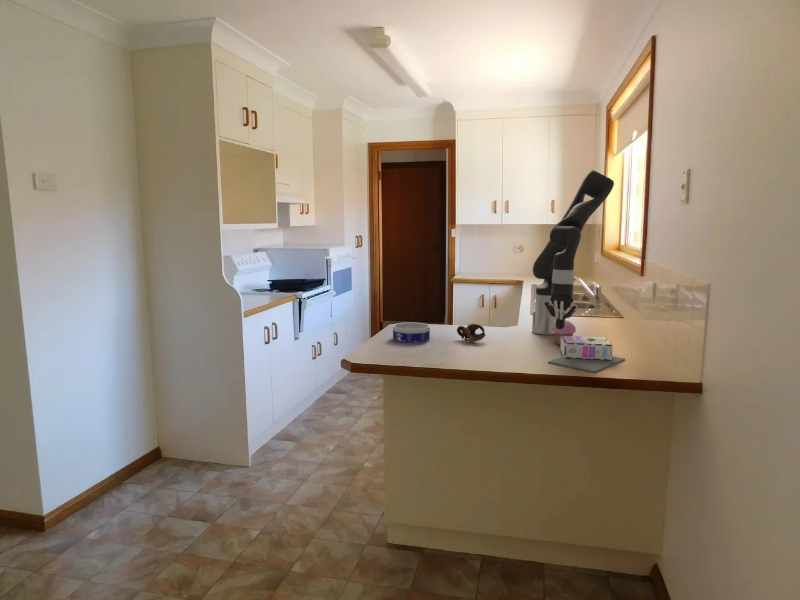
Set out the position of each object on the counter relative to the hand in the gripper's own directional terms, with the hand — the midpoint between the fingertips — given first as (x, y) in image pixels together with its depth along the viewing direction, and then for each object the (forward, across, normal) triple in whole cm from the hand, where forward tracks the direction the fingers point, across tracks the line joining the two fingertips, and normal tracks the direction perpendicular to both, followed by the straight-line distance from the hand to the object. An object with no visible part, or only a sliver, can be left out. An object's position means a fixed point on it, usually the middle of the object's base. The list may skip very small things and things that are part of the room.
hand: (560, 328), depth 201 cm
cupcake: (+10, -8, +18) cm, 22 cm away
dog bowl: (+11, -56, -20) cm, 60 cm away
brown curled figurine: (+10, -37, -4) cm, 39 cm away
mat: (+10, +11, 0) cm, 15 cm away
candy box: (+7, 0, +1) cm, 7 cm away
